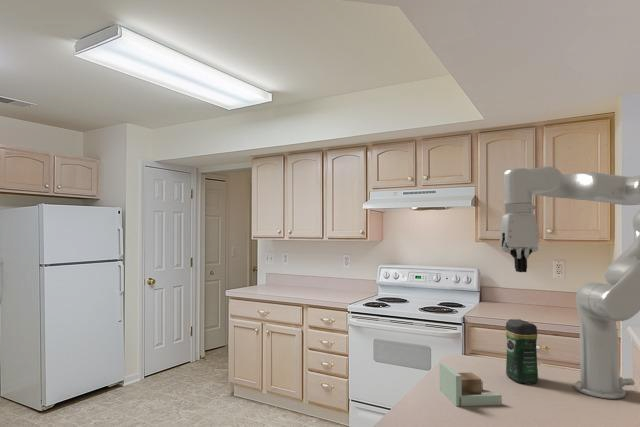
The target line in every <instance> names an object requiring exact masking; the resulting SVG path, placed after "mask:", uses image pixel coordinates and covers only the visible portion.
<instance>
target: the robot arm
mask: <svg viewBox="0 0 640 427" xmlns="http://www.w3.org/2000/svg"><path fill="white" fill-rule="evenodd" d="M503 193H504V197H503V198H504V214H503V215H502V216H501V222H500V228H499V244H500V245H499V246H500V247H501V250H502V252H503V253H507V254H509V255H511V257H512V258H513V259H514V260H513V261H514V269H515V272H517V273H527V270H528V259H529V258H530V255H531V254H532V253H535V252H538V251H539V247H538V246H539V242H540V241H539V240H540V238H539V229H538V224H537V223H538V222H537V218H536V215H535V214H533V212H534V211H536V209H537V207H536V205H533V196H539V197H547V198H556V199H557V198H558V199H559V198H560V199H568V200H569V199H570V200H574V201H575V200H577V201H578V200H579V201H590V202H599V203H606V204H612V205H621V206H640V175H634V176H624V175H617V174H609V173H604V172H595V171H594V172H593V171H590V172H589V171H588V172H587V171H586V172H577V173H562V172H561V170H559V169H558V168H556V167H554V166H547V165H546V166H541V167H533V168H532V167H531V168H526V167H517V168H510V169H509V168H508V169H507V170H505V171H504V173H503ZM632 228H633V235H634V236H633V237H634V238H633V241H632V243H631V245H630V246H629V247H627V249H625V251H624V252H622V253H621V254H620V255H619V256H618V257H617V258H616V259H615V260H614V261H612V263H611V264H610V265H608V267H607V268H606V270H605V273H604V279H605V281H606V282H607V283H601V282H587V283H584V284H583V285H581V286H580V287H579V288H578V289H577V291H576V295H575V306H576V311H577V315H578V322H579V360H580V361H579V363H580V364H579V365H580V366H579V369H580V380H578V381H576V382H574V388H575V390H576V391H578V392H580V393H582V394H585V395H588V396H590V397H591V396H592V397H595V398H596V397H597V398H601V399H610V400H611V399H614V400H617V399H621V398H624V397H626V390H625V389H624V388H623V387H625V386H634V385H635V381H634V379H633V378H632V377H631V378H629V377H628V378H623V376H620V375H619V343H618V342H619V335H618V327H617V323H616V322H625V321H628V320H630V319H632V318H633V317H634V316H636V315H637V314H638V313H639V312H640V209H639V210H638V211H636V213H635V214H634V216H633V218H632Z"/></svg>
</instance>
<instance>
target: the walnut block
mask: <svg viewBox="0 0 640 427" xmlns="http://www.w3.org/2000/svg"><path fill="white" fill-rule="evenodd" d="M457 373H458V374H460V375H461V386H462V395H482V394H483V393H482V391H483V390H482V389H481V381H482V378H481V377H479V376H477V375H476V374H475V373H473V372H472V371H470V372H457Z"/></svg>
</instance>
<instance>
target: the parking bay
mask: <svg viewBox="0 0 640 427" xmlns="http://www.w3.org/2000/svg"><path fill="white" fill-rule="evenodd" d="M458 373H459V372H458V371H456V370H455V369H454V368H452V367H451V366H450V365H448V364H447V363H446V362H439V391H440V392H441V393H442V394H443V395H444V396H445V397H446V398H447V399H448V400H449V401H451V403H452V404H453V405H454V406H455V407H470V406H471V407H472V406H477V407H478V406H500V405H501V406H502V405H503V404H502V402H503V397H502V394H501V393H491V394H490V393H482V395H462V386H461V375H460V374H458ZM481 389H482V391H483V390H484V381H483V380H481Z"/></svg>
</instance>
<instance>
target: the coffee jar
mask: <svg viewBox="0 0 640 427" xmlns="http://www.w3.org/2000/svg"><path fill="white" fill-rule="evenodd" d="M505 335H506V362H505V364H506V365H505V374H506V376H507V377H508V378H509V379H511V380H512V381H514V382H516V383H522V384H523V383H524V384H527V385H531V384H535V383H538V381H539V372H538V369H539V368H538V355H537V354H538V353H537V351H538V349H537V341H538V328H537V325H535V324H534V323H532V322H529V321H525V320H523V319H520V318H516V319H515V318H514V319H513V318H511V319H508V320H507V321H506V323H505Z"/></svg>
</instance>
